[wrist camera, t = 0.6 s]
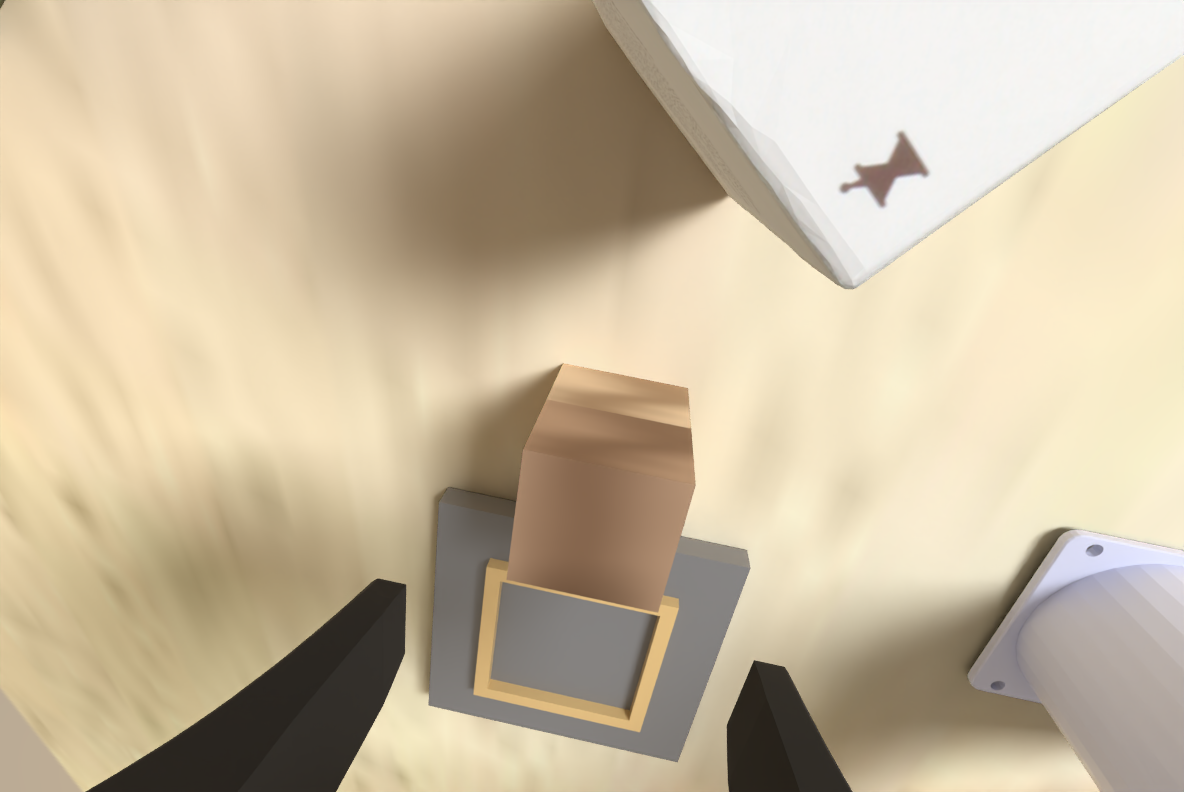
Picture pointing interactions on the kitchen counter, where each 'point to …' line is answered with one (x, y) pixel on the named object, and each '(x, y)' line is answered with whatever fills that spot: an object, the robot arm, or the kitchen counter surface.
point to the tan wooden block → (604, 488)
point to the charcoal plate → (573, 638)
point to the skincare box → (883, 102)
